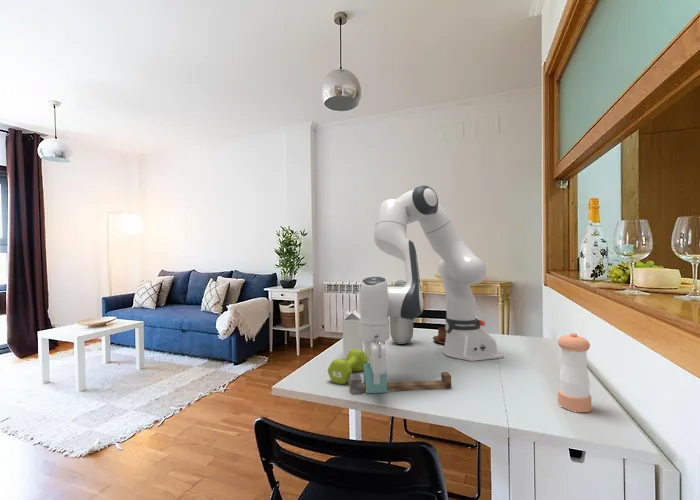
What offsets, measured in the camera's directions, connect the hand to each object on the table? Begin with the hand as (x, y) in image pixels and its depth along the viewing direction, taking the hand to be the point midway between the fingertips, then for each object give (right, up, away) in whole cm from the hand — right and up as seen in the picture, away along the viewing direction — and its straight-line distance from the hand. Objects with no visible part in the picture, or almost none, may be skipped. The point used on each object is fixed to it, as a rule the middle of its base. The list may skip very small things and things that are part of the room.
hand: (374, 378), depth 103 cm
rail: (+8, -3, +1) cm, 8 cm away
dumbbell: (-8, -4, +12) cm, 14 cm away
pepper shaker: (+51, -3, -12) cm, 53 cm away
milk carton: (-6, -4, +32) cm, 32 cm away
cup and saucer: (+36, -4, +52) cm, 64 cm away
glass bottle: (+16, -3, +51) cm, 54 cm away
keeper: (0, -3, 0) cm, 3 cm away
